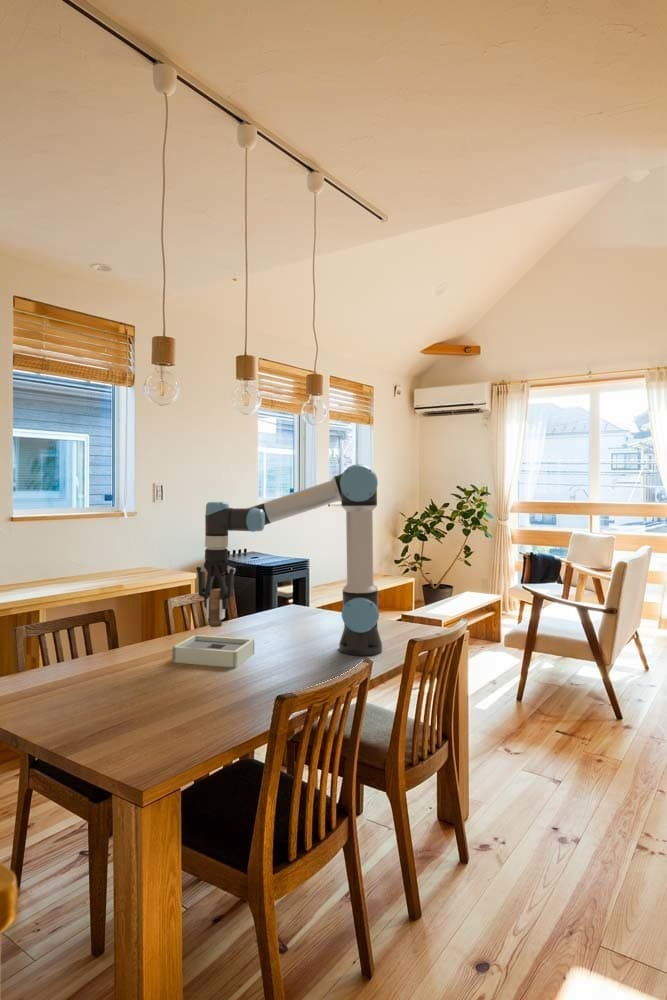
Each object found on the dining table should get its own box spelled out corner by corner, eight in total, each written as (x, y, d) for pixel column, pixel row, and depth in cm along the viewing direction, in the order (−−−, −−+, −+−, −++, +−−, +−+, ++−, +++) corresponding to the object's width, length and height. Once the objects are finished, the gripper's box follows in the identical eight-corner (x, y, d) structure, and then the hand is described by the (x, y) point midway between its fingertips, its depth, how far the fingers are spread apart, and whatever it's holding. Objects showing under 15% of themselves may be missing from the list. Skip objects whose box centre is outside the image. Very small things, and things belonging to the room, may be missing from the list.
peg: (218, 627, 200) (219, 591, 200) (207, 626, 201) (207, 590, 201) (223, 624, 204) (224, 589, 204) (212, 623, 205) (213, 588, 205)
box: (254, 653, 207) (254, 639, 207) (235, 667, 191) (236, 652, 191) (195, 649, 212) (195, 634, 212) (172, 662, 197) (172, 647, 196)
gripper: (244, 548, 204) (243, 617, 204) (198, 545, 208) (197, 613, 208) (236, 550, 196) (235, 622, 197) (187, 548, 200) (187, 618, 201)
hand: (215, 617), depth 203 cm, fingers closed on peg, 4 cm apart
